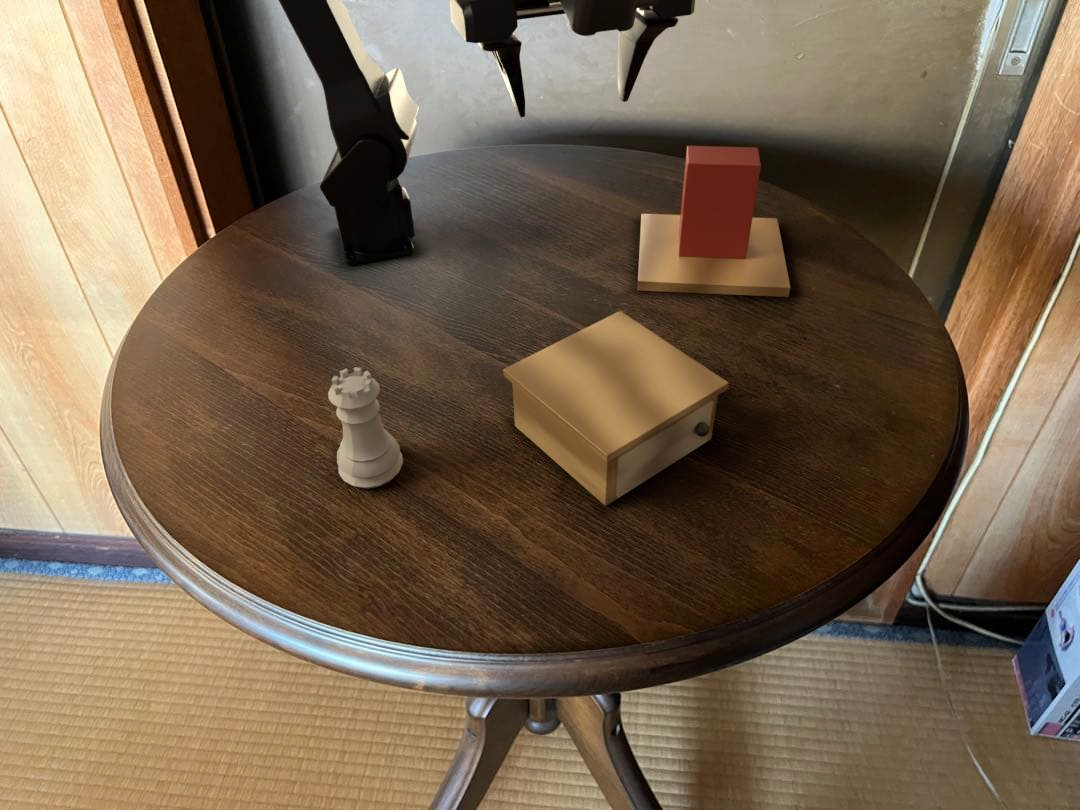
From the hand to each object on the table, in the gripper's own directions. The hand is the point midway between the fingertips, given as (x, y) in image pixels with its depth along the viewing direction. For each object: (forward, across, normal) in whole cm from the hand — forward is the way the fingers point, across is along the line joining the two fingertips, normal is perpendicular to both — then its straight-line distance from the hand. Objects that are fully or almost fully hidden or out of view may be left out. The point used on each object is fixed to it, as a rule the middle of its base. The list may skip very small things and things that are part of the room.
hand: (572, 107), depth 71 cm
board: (+13, +11, -7) cm, 18 cm away
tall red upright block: (+12, +11, -7) cm, 18 cm away
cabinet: (+13, -6, -26) cm, 30 cm away
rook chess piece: (+13, -23, -24) cm, 36 cm away
